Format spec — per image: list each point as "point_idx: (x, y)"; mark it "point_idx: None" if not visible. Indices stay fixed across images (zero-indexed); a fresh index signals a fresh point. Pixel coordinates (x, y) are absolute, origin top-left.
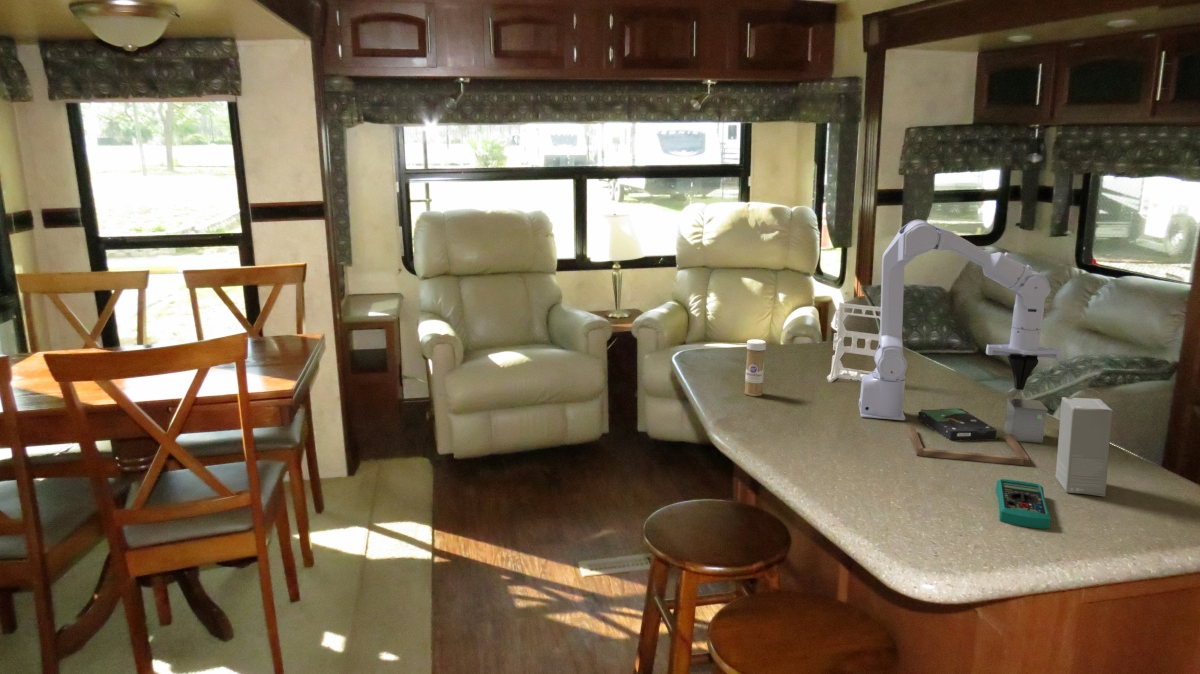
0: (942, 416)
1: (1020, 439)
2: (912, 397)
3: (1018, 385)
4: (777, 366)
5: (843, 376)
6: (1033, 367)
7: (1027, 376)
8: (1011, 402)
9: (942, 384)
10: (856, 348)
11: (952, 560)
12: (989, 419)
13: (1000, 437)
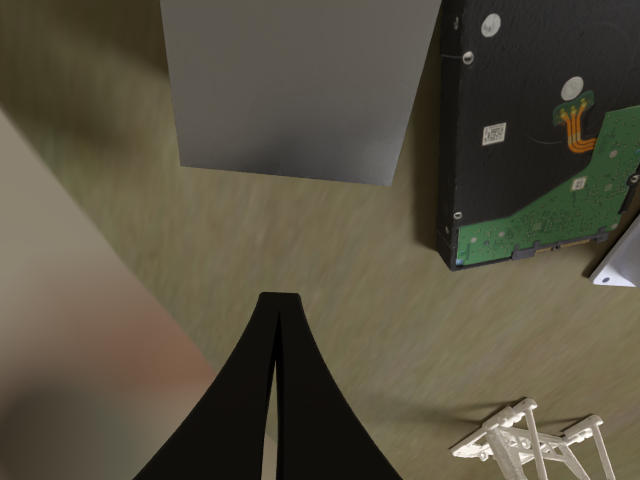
0: (590, 171)
1: None
2: (475, 370)
3: (294, 308)
4: (624, 457)
5: (551, 438)
6: (161, 463)
7: (234, 365)
8: (413, 75)
9: None
10: None
11: None
12: (350, 249)
13: None
